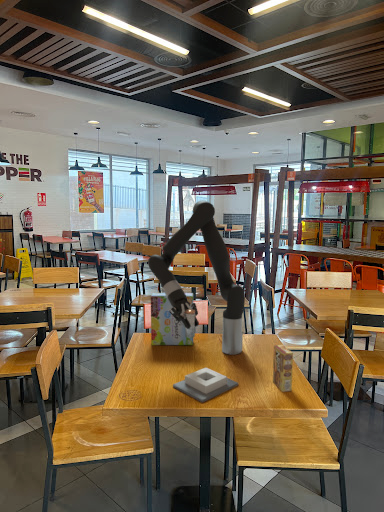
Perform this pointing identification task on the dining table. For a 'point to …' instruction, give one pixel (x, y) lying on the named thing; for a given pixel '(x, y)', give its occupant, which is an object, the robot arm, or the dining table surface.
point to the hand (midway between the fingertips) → (193, 326)
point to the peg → (191, 318)
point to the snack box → (167, 322)
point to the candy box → (282, 368)
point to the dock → (201, 395)
